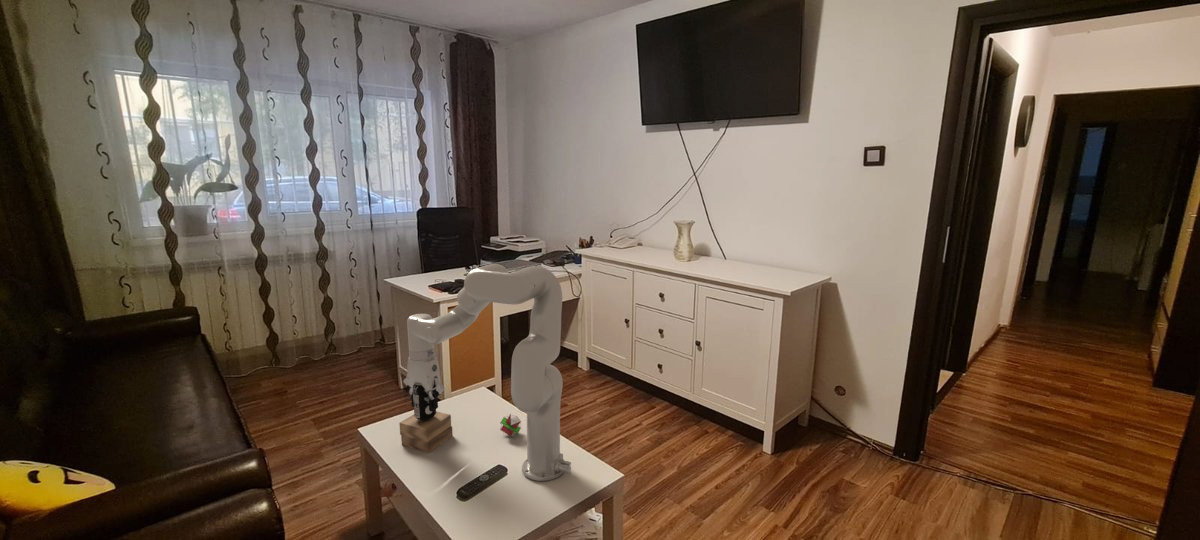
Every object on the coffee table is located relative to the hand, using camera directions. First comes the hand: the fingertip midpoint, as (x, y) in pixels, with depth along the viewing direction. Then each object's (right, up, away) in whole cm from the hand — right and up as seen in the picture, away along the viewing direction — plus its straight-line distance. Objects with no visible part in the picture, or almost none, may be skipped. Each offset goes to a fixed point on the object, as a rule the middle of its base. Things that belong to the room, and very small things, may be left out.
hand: (424, 406), depth 161 cm
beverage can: (0, -3, +1) cm, 3 cm away
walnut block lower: (0, -12, +2) cm, 12 cm away
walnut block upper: (0, -8, +2) cm, 8 cm away
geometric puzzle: (+26, -11, +5) cm, 29 cm away
